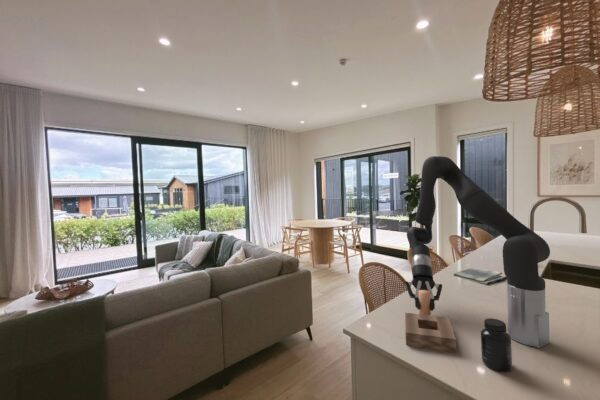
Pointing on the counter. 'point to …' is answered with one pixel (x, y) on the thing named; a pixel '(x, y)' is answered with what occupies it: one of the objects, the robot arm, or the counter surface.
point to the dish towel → (480, 275)
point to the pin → (424, 302)
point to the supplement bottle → (496, 345)
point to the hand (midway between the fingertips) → (425, 309)
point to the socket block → (429, 332)
